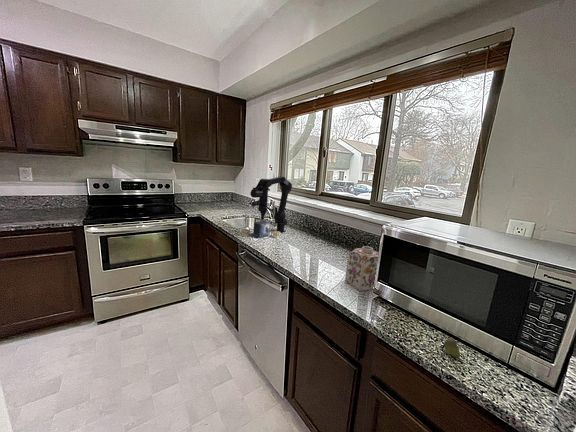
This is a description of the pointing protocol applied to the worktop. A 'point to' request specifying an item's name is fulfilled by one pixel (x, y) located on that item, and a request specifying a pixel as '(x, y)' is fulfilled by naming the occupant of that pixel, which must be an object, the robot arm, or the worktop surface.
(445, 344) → the lime
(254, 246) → the worktop surface
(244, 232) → the marked block 1
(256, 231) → the small box
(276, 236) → the marked block 2
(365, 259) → the decorative jar
